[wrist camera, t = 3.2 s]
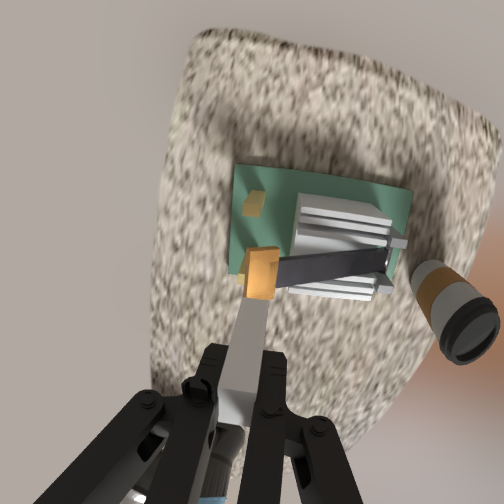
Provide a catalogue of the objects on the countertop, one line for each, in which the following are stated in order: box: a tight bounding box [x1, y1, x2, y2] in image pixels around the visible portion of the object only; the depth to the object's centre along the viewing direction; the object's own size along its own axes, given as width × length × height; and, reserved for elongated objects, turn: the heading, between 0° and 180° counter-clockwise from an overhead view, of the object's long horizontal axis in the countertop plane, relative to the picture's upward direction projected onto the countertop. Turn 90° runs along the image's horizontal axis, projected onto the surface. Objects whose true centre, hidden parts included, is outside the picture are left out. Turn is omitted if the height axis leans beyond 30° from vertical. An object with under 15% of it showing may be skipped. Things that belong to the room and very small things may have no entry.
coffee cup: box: [411, 259, 500, 365], centre depth 27 cm, size 8×8×15 cm
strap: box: [243, 244, 393, 300], centre depth 24 cm, size 16×4×1 cm, turn 85°
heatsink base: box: [228, 164, 413, 301], centre depth 29 cm, size 22×14×9 cm, turn 85°
